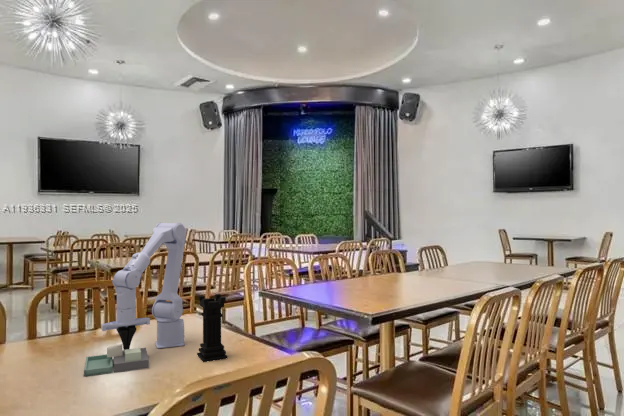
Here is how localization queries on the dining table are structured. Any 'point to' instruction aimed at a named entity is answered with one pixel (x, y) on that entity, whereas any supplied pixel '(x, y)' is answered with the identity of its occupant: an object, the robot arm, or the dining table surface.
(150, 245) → the robot arm
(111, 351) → the cream tile
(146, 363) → the charcoal board
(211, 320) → the chess piece
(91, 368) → the tray
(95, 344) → the dining table surface
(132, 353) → the sage tile
